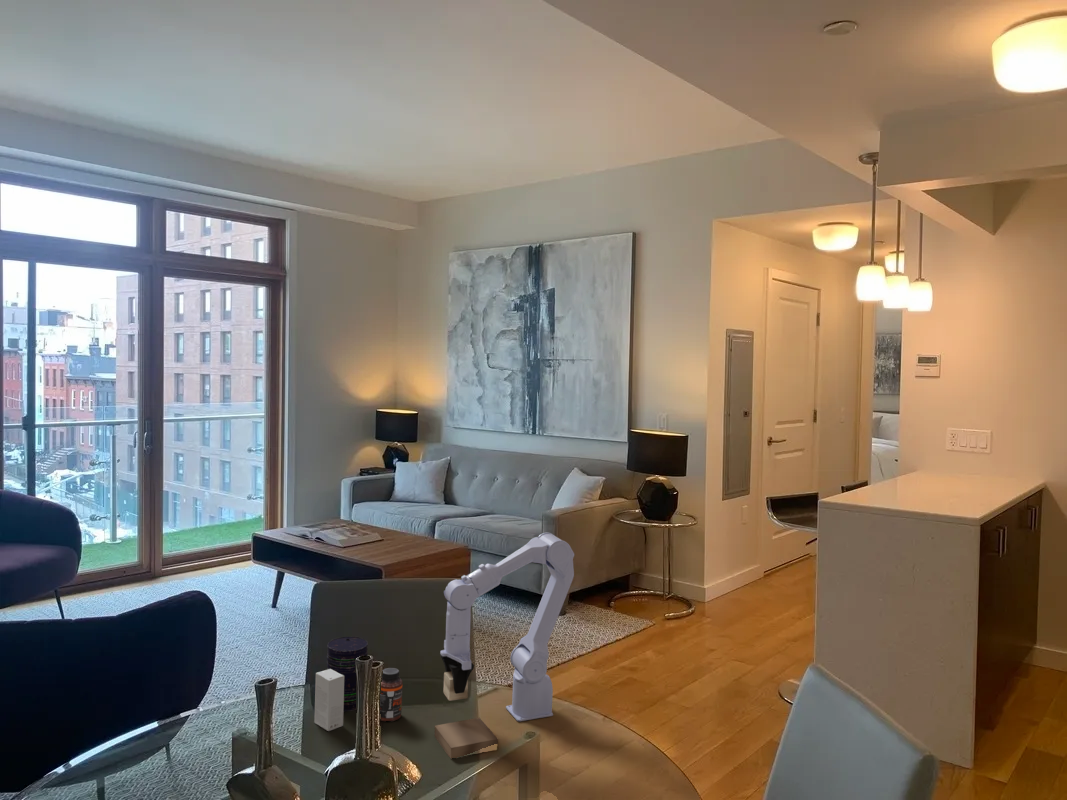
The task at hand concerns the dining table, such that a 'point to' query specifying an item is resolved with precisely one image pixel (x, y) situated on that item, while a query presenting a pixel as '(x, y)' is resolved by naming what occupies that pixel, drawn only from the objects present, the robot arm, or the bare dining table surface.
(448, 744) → the walnut block
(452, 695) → the maple block
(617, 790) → the dining table surface
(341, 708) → the skincare box
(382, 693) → the supplement bottle
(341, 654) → the storage jar
